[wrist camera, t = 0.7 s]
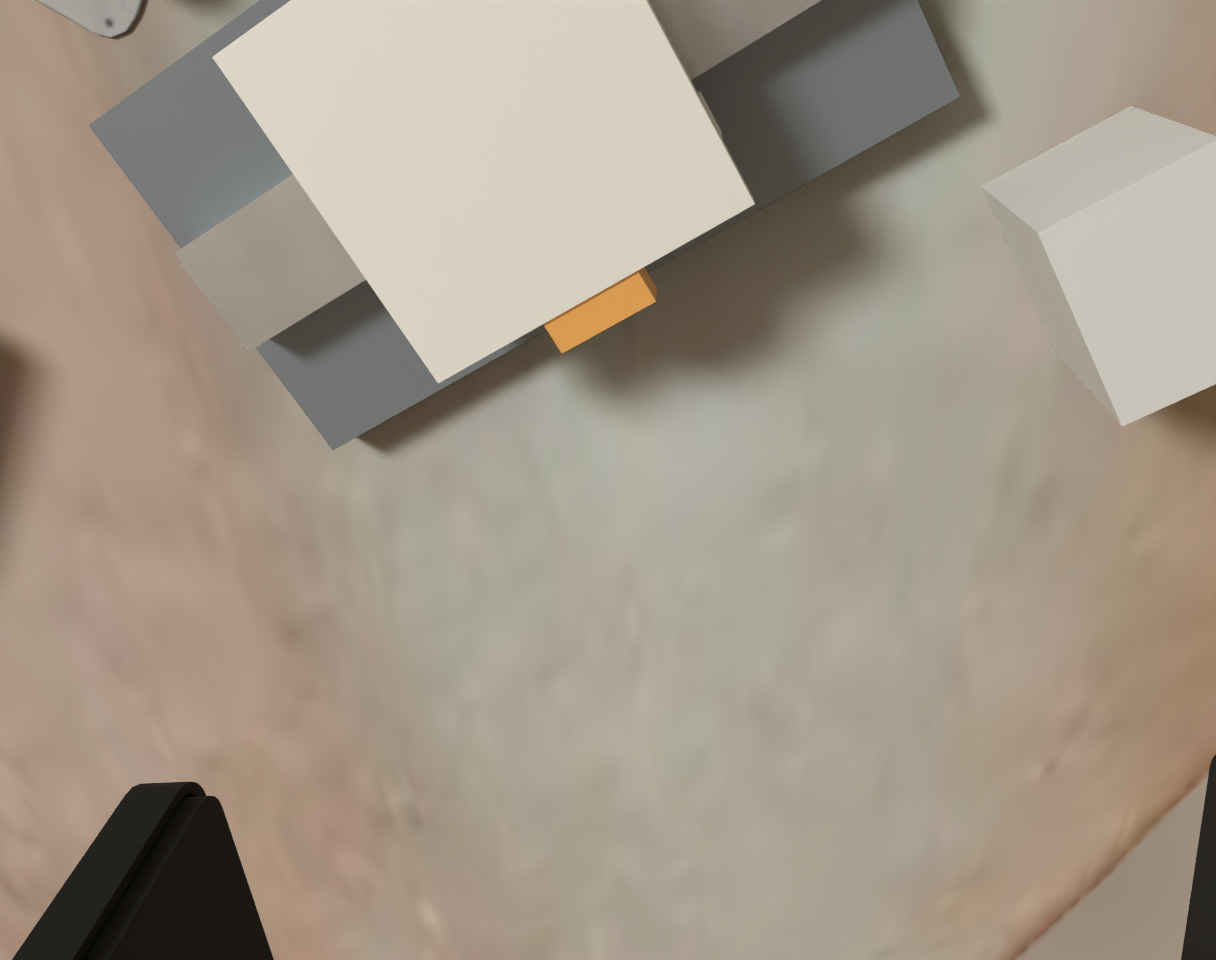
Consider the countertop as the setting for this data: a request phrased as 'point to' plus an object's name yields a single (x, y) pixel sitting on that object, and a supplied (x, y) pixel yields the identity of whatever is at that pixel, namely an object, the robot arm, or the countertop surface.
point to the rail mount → (397, 377)
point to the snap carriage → (491, 157)
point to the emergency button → (98, 14)
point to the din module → (1121, 256)
